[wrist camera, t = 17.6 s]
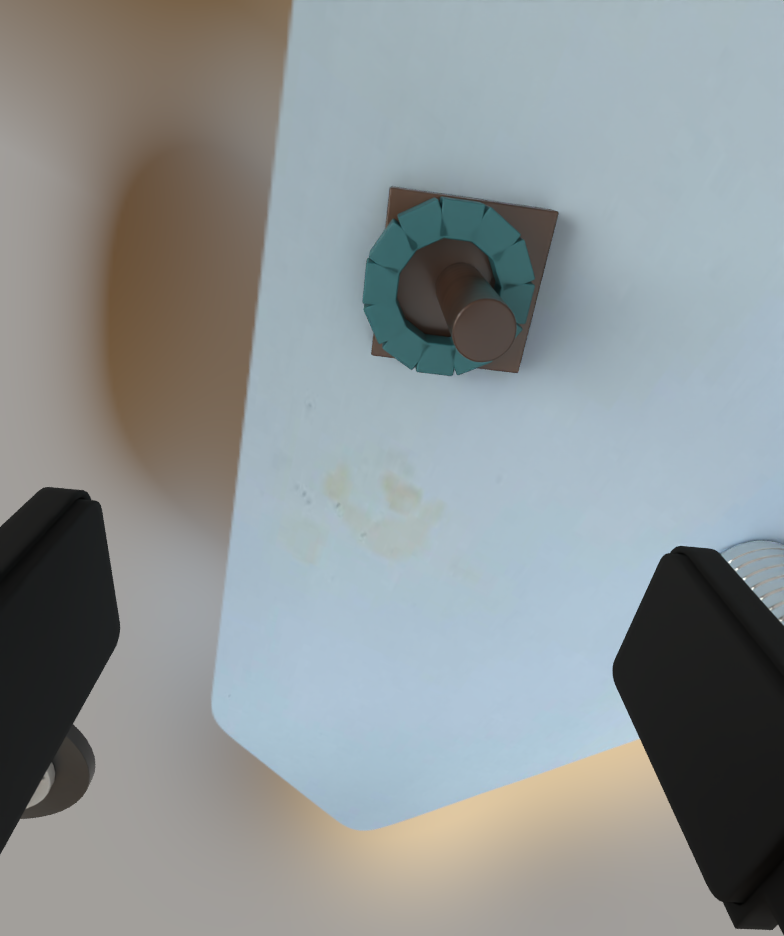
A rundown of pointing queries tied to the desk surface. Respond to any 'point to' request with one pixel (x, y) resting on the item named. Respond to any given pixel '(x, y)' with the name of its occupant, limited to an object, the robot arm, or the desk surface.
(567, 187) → the desk surface
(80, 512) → the robot arm
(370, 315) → the teal segmented ring
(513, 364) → the stand
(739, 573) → the water bottle
